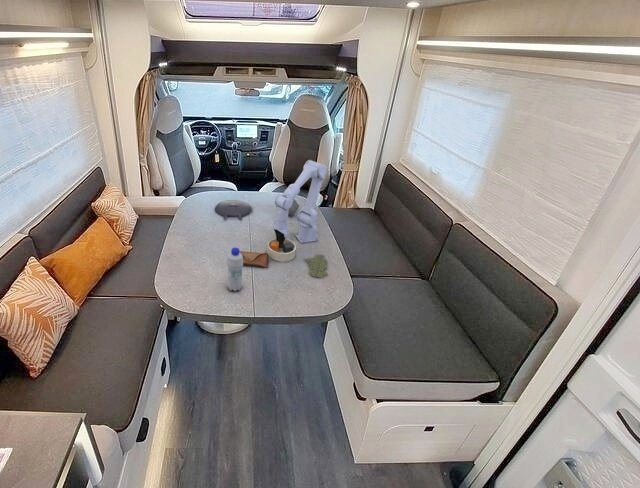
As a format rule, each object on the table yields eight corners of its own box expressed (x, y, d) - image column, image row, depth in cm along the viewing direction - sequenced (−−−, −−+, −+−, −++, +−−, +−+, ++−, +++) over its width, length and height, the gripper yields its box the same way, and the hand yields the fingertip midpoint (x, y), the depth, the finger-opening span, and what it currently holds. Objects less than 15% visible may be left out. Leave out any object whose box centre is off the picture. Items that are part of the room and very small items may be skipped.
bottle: (226, 282, 137) (226, 244, 130) (241, 282, 138) (242, 243, 130) (227, 293, 131) (227, 253, 123) (243, 292, 132) (244, 253, 124)
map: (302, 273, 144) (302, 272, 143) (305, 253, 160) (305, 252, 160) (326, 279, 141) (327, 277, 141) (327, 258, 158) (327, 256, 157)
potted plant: (289, 216, 189) (269, 203, 195) (292, 221, 200) (273, 209, 206) (300, 200, 190) (280, 188, 196) (302, 205, 202) (283, 194, 208)
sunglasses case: (230, 265, 148) (231, 250, 149) (231, 263, 155) (232, 250, 156) (268, 267, 147) (269, 253, 148) (267, 266, 154) (268, 252, 155)
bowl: (288, 244, 167) (288, 236, 165) (299, 259, 154) (300, 251, 153) (263, 247, 163) (263, 239, 161) (273, 264, 151) (273, 255, 149)
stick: (283, 247, 160) (283, 231, 158) (282, 248, 158) (283, 232, 156) (279, 246, 161) (279, 230, 158) (278, 248, 159) (279, 232, 156)
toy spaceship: (252, 222, 188) (252, 217, 187) (212, 220, 188) (212, 216, 187) (251, 201, 214) (251, 197, 213) (216, 200, 214) (216, 196, 213)
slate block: (289, 249, 162) (290, 242, 160) (292, 253, 158) (293, 246, 157) (282, 250, 161) (283, 243, 159) (285, 254, 157) (286, 248, 156)
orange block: (271, 248, 163) (271, 241, 161) (278, 249, 162) (279, 242, 160) (269, 252, 159) (270, 245, 157) (277, 253, 158) (278, 246, 156)
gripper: (269, 212, 159) (267, 235, 164) (280, 227, 146) (278, 251, 151) (281, 211, 161) (279, 234, 166) (293, 225, 148) (291, 249, 153)
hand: (279, 242), depth 159 cm, fingers closed on stick, 2 cm apart
